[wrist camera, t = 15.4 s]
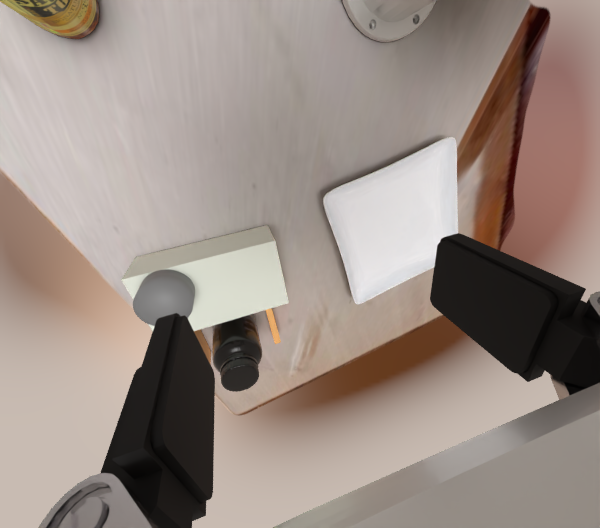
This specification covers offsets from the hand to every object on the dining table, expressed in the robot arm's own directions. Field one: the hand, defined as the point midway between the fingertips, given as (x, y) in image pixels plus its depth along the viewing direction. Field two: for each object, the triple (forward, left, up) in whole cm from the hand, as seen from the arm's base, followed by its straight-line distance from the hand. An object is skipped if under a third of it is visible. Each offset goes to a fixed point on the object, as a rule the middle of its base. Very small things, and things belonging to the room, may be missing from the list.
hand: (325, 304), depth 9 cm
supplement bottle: (+8, +22, -28) cm, 37 cm away
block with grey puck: (+8, +17, -28) cm, 34 cm away
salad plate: (-21, +12, -29) cm, 38 cm away
